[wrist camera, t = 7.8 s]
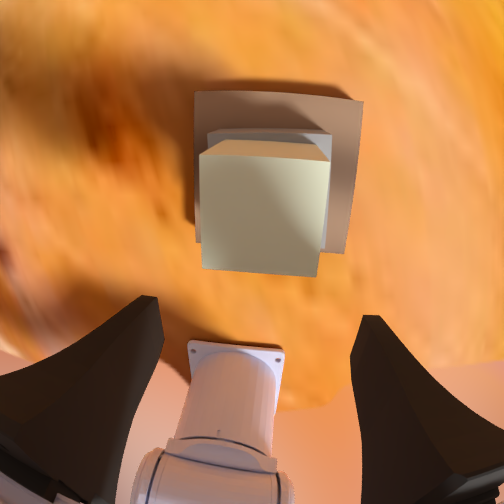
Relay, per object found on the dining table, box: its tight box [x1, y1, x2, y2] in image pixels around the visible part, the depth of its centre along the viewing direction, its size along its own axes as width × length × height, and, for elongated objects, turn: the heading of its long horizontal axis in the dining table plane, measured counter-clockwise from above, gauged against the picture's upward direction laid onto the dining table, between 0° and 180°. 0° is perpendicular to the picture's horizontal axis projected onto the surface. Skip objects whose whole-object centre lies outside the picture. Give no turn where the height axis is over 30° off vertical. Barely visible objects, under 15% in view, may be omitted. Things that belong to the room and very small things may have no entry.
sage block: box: [199, 139, 330, 277], centre depth 12 cm, size 4×4×4 cm
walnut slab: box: [194, 91, 363, 254], centre depth 18 cm, size 9×9×2 cm
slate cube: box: [207, 128, 332, 249], centre depth 16 cm, size 6×6×3 cm
